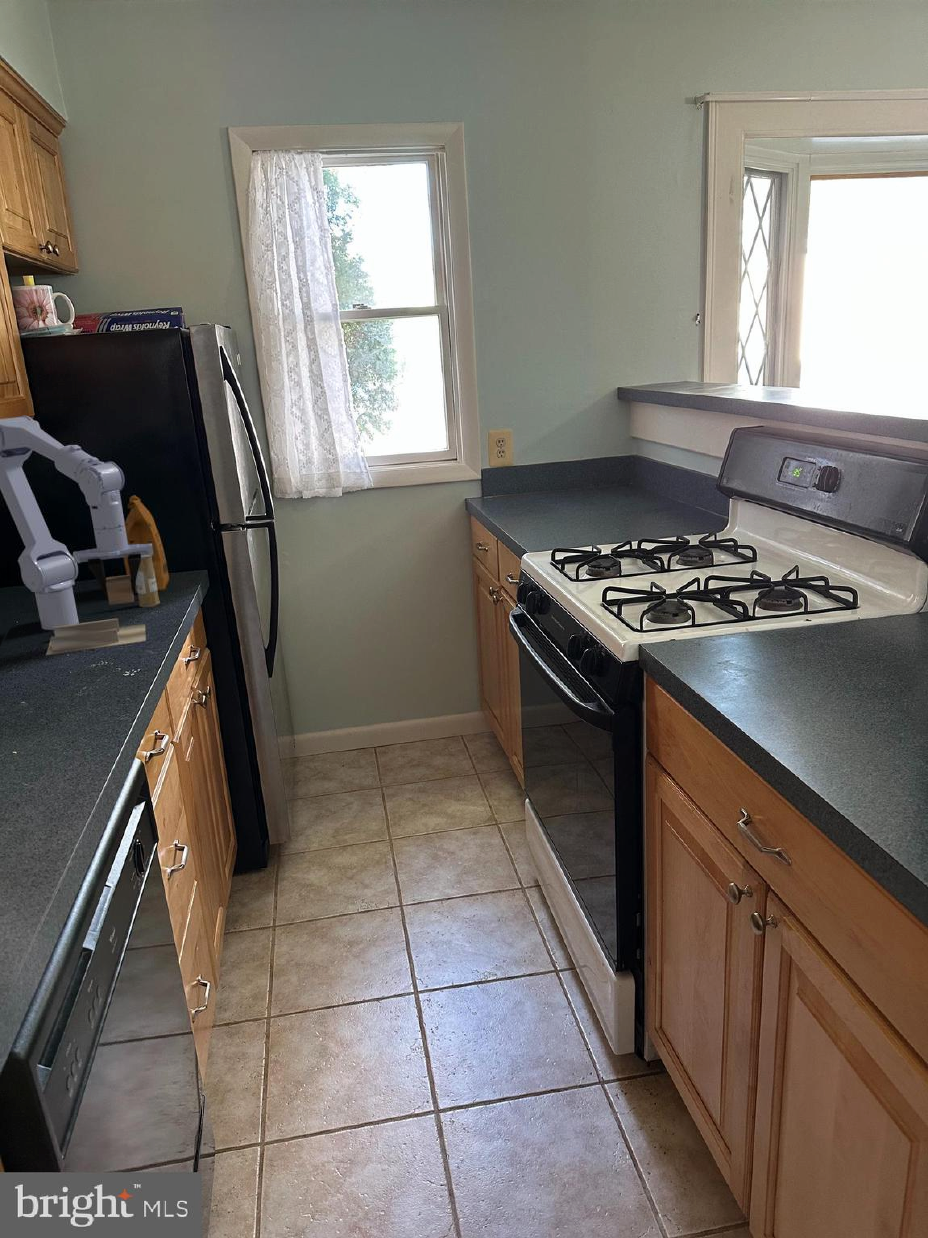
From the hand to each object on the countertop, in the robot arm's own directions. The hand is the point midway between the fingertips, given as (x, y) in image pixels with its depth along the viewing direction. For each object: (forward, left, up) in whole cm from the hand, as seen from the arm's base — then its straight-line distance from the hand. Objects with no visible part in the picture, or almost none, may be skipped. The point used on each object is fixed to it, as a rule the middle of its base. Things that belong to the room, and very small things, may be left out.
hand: (120, 593), depth 177 cm
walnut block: (0, 0, -1) cm, 1 cm away
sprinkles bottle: (-24, +5, -10) cm, 26 cm away
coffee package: (-42, +4, -10) cm, 43 cm away
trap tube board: (+1, -5, -9) cm, 11 cm away
